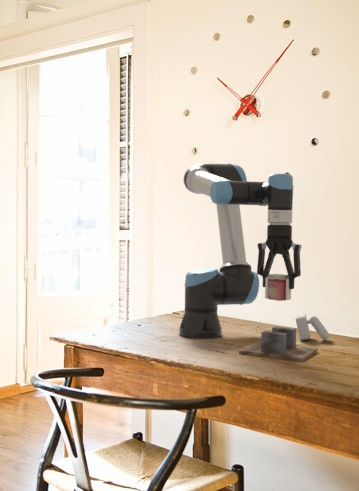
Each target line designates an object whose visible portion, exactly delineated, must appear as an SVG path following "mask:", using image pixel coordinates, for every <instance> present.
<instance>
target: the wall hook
mask: <svg viewBox="0 0 359 491" xmlns="http://www.w3.org/2000/svg"><path fill="white" fill-rule="evenodd" d="M295 322H296V323H295V324H296V329H297V332H298V337H299V340H300V342H301V341H306V340H307V341H308V340H311V331H310V328H309V325H311V326H312V327H313V329H314V330H315V331H316V333H317V334H318V336H319V337H320V338H321V340H323V341H327V340H328V339H329V338H331V336H332V335H331V333H329V331H328V330H327V329H326V327H325V326H324V324H323V323H322V322H321V321H320V319H319V318H318V317H317V316H315V315H312V316H311V317H309V319H308V318H307V314H306V313H302V314H301V313H300V314H297V315H295Z"/></svg>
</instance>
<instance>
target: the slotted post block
mask: <svg viewBox="0 0 359 491" xmlns="http://www.w3.org/2000/svg"><path fill="white" fill-rule="evenodd" d="M260 336H261V337H260V338H261V340H260V341H257V342H255V343H253V344H250V345H248V346H246V347H244V348H242V349H241V348H240V349H239V350H238V353H239V355H247V356H254V357H255V356H256V357H262V358H271V359H279V360H287V361H295V362H301V363H302V362H304V361H305V360H308V359H309V358H310V357H312V356H314V355H315V354H317V353H318V348H316V347H315V348H314V347H306V346H305V347H304V346H297V328H293V327H284V326H282V327H281V326H273V327H271V331H269V330H264V331H262V332H261V335H260Z"/></svg>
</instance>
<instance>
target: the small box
mask: <svg viewBox="0 0 359 491" xmlns="http://www.w3.org/2000/svg"><path fill="white" fill-rule="evenodd" d="M286 279H288V274H283V273H271V274H270V273H269V274H268V298H267V300H272V301H277V302H281V301H287V300H286Z"/></svg>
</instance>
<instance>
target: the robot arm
mask: <svg viewBox="0 0 359 491" xmlns="http://www.w3.org/2000/svg"><path fill="white" fill-rule="evenodd" d="M293 178H294V177H293V175H291V174H288V173H271V174H270V175H268V181H248V179H247V175H246V172H245V170H244V169H243V167H241V165H238V164H232V163H209V162H208V163H207V162H203V163H202V162H201V163H196V164H194V165H192V166H190V167H189V168H188V169H186V171H185V172H184V175H183V184H184V186H185V188H186V189H187V190H188V191H189V192H191V193H192V194H196V195H197V194H198V195H200V194H202V195H205V196H207V197H210V200H211V202H212V204H215V205H216V211H217V220H218V221H217V222H218V230H219V240H220V250H221V258H222V264H221V266H220V267H219V269H218V268H215V267H214V268H213V267H212V268H211V267H210V268H209V267H208V268H197V269H193V270H190V271H188V272H187V273H186V275H185V280H184V281H185V282H184V313H183V317H182V319H181V323H180V326H179V330H178V332H179V334H178V335H179V336H181V337H187V338H193V339H212V338H218V337H222V336H223V335H222V334H223V330H222V329H223V328H222V326H221V321H220V318H219V315H218V307H219V306H218V305H220V306H225V305H241V306H242V305H249V304H252V303H253V302H254V301H255V300H256V299H257V298H258V293H259V289H260V277H259V276H261V277H262V287H263V288H264V289H265V291H264V298H265V299H268V274H270V272H271V269H272V266H273V264H274V260H275V257H276V256H277V255H281V256H282V258H283V262H284V265H285V269H286V272H287V275H288V279H286V300H285V301H290V300H291V299H292V290H294V289H295V279H296V278H298V277H301V276H302V275H301V273H302V271H301V249H302V245H301V244H298V243H294V242H293V238H292V237H293V236H292V235H293V233H292V232H293V226H292V225H291V224H292V223H293V198H294V179H293ZM241 205H242V206H259V207H263V206H264V207H266V206H267V223H268V225H267V227H266V228H267V230H266V236H267V238H266V239H265V241H264V242H259V243H257V245H256V246H257V248H258V255H257V256H258V257H257V268H256V272H255V271H252V265H251V264H249V263H248V261H247V258H246V257H247V256H246V248H245V241H244V240H245V239H244V231H243V223H242V215H241V214H242V213H241V208H240V207H241ZM266 248H268V250H269V251H268V254H267V255H268V256H267V259H266V262H265V258H266V257H265V256H266ZM291 248H292V251H293V264H292V260H291V254H290V249H291Z"/></svg>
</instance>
